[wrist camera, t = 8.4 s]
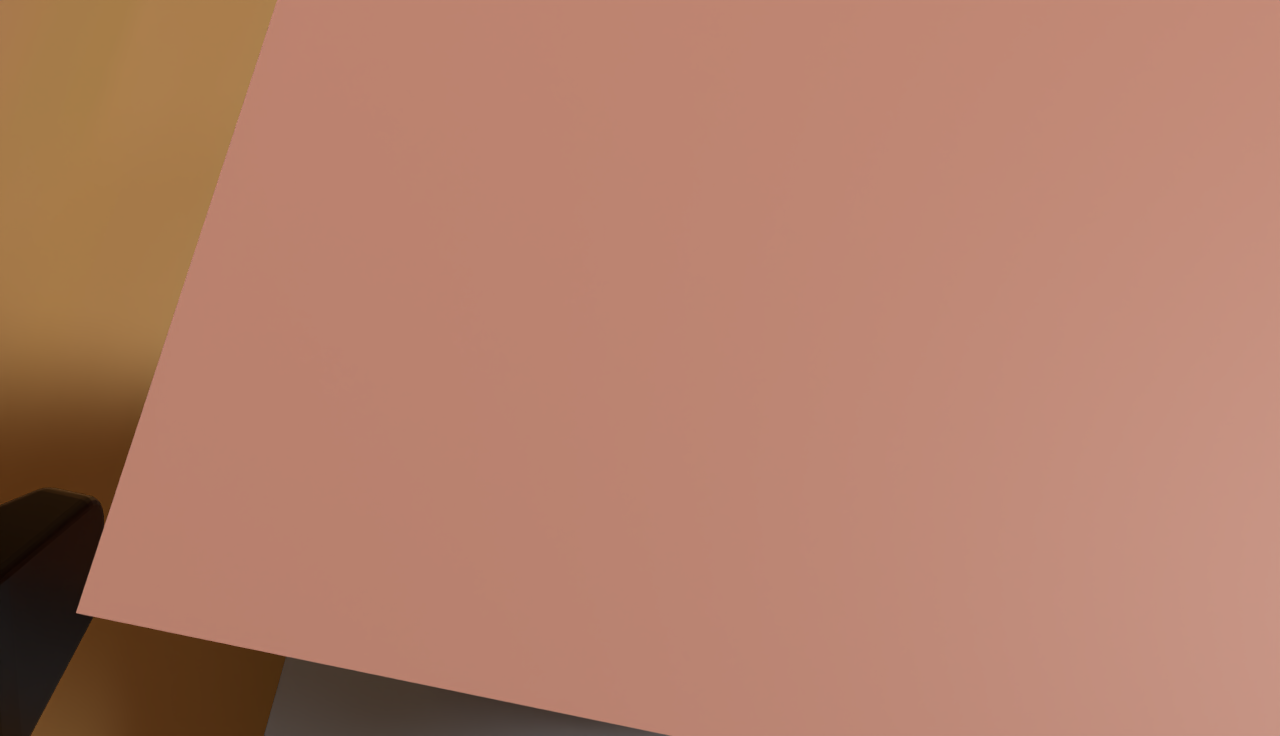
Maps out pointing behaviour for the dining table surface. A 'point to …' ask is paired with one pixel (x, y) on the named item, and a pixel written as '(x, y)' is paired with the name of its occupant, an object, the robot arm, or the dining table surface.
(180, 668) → the dining table surface
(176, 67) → the dining table surface
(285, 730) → the brick base
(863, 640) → the tall brick
